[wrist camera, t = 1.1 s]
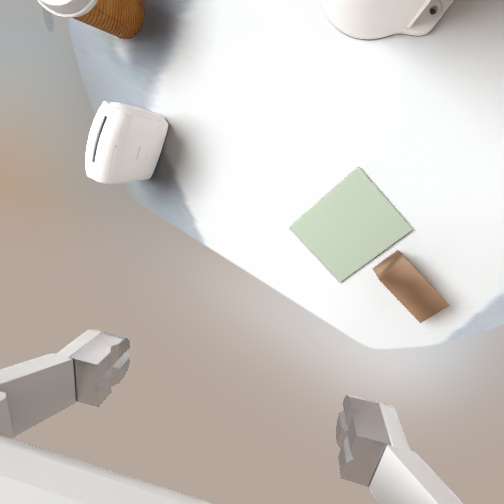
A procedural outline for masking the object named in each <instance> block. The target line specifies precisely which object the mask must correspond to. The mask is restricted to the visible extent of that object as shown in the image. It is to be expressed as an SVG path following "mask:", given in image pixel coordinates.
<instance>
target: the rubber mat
mask: <svg viewBox="0 0 504 504" xmlns="http://www.w3.org/2000/svg"><path fill="white" fill-rule="evenodd" d="M289 229H290V230H291V231H292V232H293V233H294V234H295V235H296V236H297V237H298V238H299V239H300V241H301V242H302V243H303V244H304V245H305V246H306V247H307V248H308V249H309V250H310V251H311V252H312V253H313V255H314V256H315V257H316V258H317V259H318V260H319V261H320V262H321V263H322V264H323V265H324V266H325V267H326V269H327V270H328V271H329V272H330V273H331V274H332V275H333V276H334V277H335V278H336V279H337V280H338V281H339V283H340V282H341V281H343V280H344V279H346V278H347V277H348V276H350V275H351V274H352V273H354V272H355V271H357V270H358V269H359V268H361V267H362V266H363V265H365V264H366V263H368V262H369V261H370V260H372V259H373V258H374V257H376V256H377V255H379V254H380V253H381V252H383V251H384V250H385V249H387V248H388V247H390V246H391V245H392V244H394V243H395V242H396V241H398V240H399V239H401V238H402V237H403V236H405V235H406V234H407V233H409V232H410V231H412V230H413V229H412V228H411V227H410V225H409V224H408V223H407V222H406V221H405V220H404V219H403V217H402V216H401V215H400V214H399V213H398V212H397V211H396V209H395V208H394V207H393V206H392V205H391V204H390V202H389V201H388V200H387V199H386V198H385V197H384V196H383V194H382V193H381V192H380V191H379V190H378V189H377V188H376V186H375V185H374V184H373V183H372V182H371V181H370V179H369V178H368V177H367V176H366V175H365V174H364V173H363V171H362V170H361V169H360V168H359V167H357V168H356V169H355V170H354V171H352V172H351V173H350V174H349V175H348V176H347V177H346V178H344V179H343V180H342V181H341V182H340V183H339V184H338V185H336V186H335V187H334V188H333V189H332V190H331V191H330V192H328V193H327V194H326V195H325V196H324V197H323V198H322V199H320V200H319V201H318V202H317V203H316V204H315V205H314V206H312V207H311V208H310V209H309V210H308V211H307V212H306V213H305V214H303V215H302V216H301V217H300V218H299V219H298V220H297V221H295V222H294V223H293V224H292V225H291V226H290V227H289Z"/></svg>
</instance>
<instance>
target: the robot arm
mask: <svg viewBox="0 0 504 504" xmlns="http://www.w3.org/2000/svg"><path fill="white" fill-rule="evenodd" d="M453 1H454V0H319V2H320V5H321V7H322V9H323V11H324V13H325V15H326V17H327V18H328V19H329V21H330V22H331V23H332V24H333V25H334V26H335V27H336V28H337V29H338V30H340V31H341V32H343V33H345V34H346V35H349V36H351V37H354V38H359V39H378V38H382V37H386V36H390V35H393V34H399V33H402V34H407V35H414V36H422V35H425V34H427V33H429V32H430V31H431V30H432V29H433V27H434V26H435V25H436V23H437V22H438V21H439V19H440V18H441V17H442V15H443V14H444V13H445V11H446V10H447V9H448V8H449V6H450V5H451V4H452V2H453ZM431 8H433V9H434V10H435V14H430V12H429V10H430V9H431ZM129 343H130V342H129V340H128V339H127V338H124V337H120V336H117V335H114V334H110V333H107V332H102V331H99V330H95V329H89V330H87V331H86V332H84V333H83V334H82V335H80V336H79V337H78V338H77V339H75V340H74V341H73V342H71V343H70V344H69V345H67V346H66V347H65V348H63V349H62V350H61V351H59V352H58V353H57V354H48V355H45V356H42V357H39V358H35V359H32V360H29V361H26V362H22V363H19V364H16V365H13V366H10V367H6V368H3V369H0V504H213V503H210V502H207V501H204V500H201V499H198V498H195V497H192V496H188V495H185V494H182V493H179V492H176V491H173V490H170V489H167V488H164V487H161V486H158V485H155V484H151V483H148V482H145V481H142V480H139V479H136V478H133V477H129V476H127V475H124V474H120V473H117V472H114V471H111V470H108V469H105V468H101V467H99V466H96V465H92V464H89V463H86V462H83V461H80V460H77V459H74V458H71V457H68V456H65V455H61V454H58V453H55V452H52V451H49V450H46V449H43V448H40V447H37V446H33V445H30V444H27V443H24V442H21V441H18V440H15V439H14V437H15V436H16V435H18V434H20V433H22V432H24V431H26V430H27V429H29V428H31V427H33V426H35V425H36V424H38V423H40V422H42V421H44V420H45V419H47V418H49V417H51V416H53V415H54V414H56V413H58V412H60V411H62V410H63V409H65V408H67V407H69V406H71V405H73V404H74V403H76V401H77V402H81V403H85V404H90V405H93V406H97V407H99V406H100V405H101V404H102V402H103V401H104V400H105V399H106V398H107V397H108V395H109V394H110V393H111V386H113V385H115V384H118V383H120V381H121V380H122V379H123V378H124V376H125V374H126V372H127V370H128V367H129V363H130V360H129V359H130V357H129V356H128V354H127V352H126V351H127V350H128V349H129V348H130V345H129ZM343 407H344V411H342V412H340V413H339V417H338V420H337V427H336V439H337V444H338V445H339V447H340V448H341V451H340V454H339V466H340V474H341V478H343V479H346V480H349V481H352V482H355V483H359V484H362V485H365V486H368V487H369V490H370V492H371V493H372V495H373V497H374V499H375V500H376V502H377V504H463V503H462V502H461V501H460V500H459V499H458V498H457V496H455V494H454V493H453V492H452V491H451V490H450V489H449V488H448V487H447V486H446V485H445V484H444V482H443V481H442V480H441V479H440V478H439V477H438V476H437V475H436V474H435V473H434V472H433V471H432V470H431V469H430V467H429V466H427V464H426V463H425V462H424V461H423V460H422V459H421V458H420V457H419V456H418V455H417V454H416V453H415V452H412V451H410V448H409V445H408V442H407V440H406V437H405V435H404V432H403V429H402V426H401V424H400V421H399V418H398V416H397V413H396V410H395V408H394V407H393V406H392V405H389V404H385V403H380V402H375V401H371V400H367V399H363V398H359V397H355V396H351V395H346V396H345V399H344V401H343Z"/></svg>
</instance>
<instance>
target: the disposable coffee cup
mask: <svg viewBox="0 0 504 504" xmlns="http://www.w3.org/2000/svg"><path fill="white" fill-rule="evenodd" d="M37 1H38V2H39V3H40V4H41V5H42V6H43V7H44V8H45V9H46V10H48V11H49V12H51V13H53V14H55V15H58V16H60V17H67V18H70V17H71V18H74V19H76V20H79V21H81V22H83V23H86V24H88V25H91V26H93V27H95V28H98V29H100V30H103V31H105V32H107V33H110V34H112V35H115V36H117V37H119V38H123V39H126V38H131V37H133V36H134V35H136V34H137V33H138V31H139V30H140V28H141V26H142V24H143V20H144V7H143V2H142V0H37Z"/></svg>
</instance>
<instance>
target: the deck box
mask: <svg viewBox="0 0 504 504" xmlns="http://www.w3.org/2000/svg"><path fill="white" fill-rule="evenodd" d="M373 270H374V272H375V273H376V275H377V277H378V278H379V280H380V281H381V282H382V283H383V284H384V285H385V286H386V287H387V288H388V289H389V290H390V291H391V293H392V294H393V295H394V296H395V297H396V298H397V299H398V300H399V301H400V302H401V303H402V304H403V305H404V306H405V307H406V308H407V309H408V310H409V312H410V313H411V314H412V315H413V316H414V317H415V318H416V319H417V320H418V321H419V322H420V323H421V322H423V321H425V320H426V319H428V318H429V317H431V316H433V315H434V314H436V313H437V312H439V311H441V310H442V309H444V308H446V307H447V306H449V304H448V303H447V302H446V301H445V300H444V299H443V298H442V297H441V296H440V294H439V293H438V292H437V291H436V290H435V289H434V288H433V287H432V286H431V285H430V284H429V283H428V281H427V280H426V279H425V278H424V277H423V276H422V275H421V274H420V273H419V272H418V271H417V270H416V269H415V267H414V266H413V265H412V264H411V263H410V262H409V261H408V260H407V259H406V258H405V257H404V256H403V255H402V254H401V253H400V252H399V251H398V250H397V251H396V252H394V253H393V254H392V255H390V256H389V257H388V258H386V259H385V260H383V261H382V262H381V263H379V264H378V265H377V266H375V267H374V268H373Z"/></svg>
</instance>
